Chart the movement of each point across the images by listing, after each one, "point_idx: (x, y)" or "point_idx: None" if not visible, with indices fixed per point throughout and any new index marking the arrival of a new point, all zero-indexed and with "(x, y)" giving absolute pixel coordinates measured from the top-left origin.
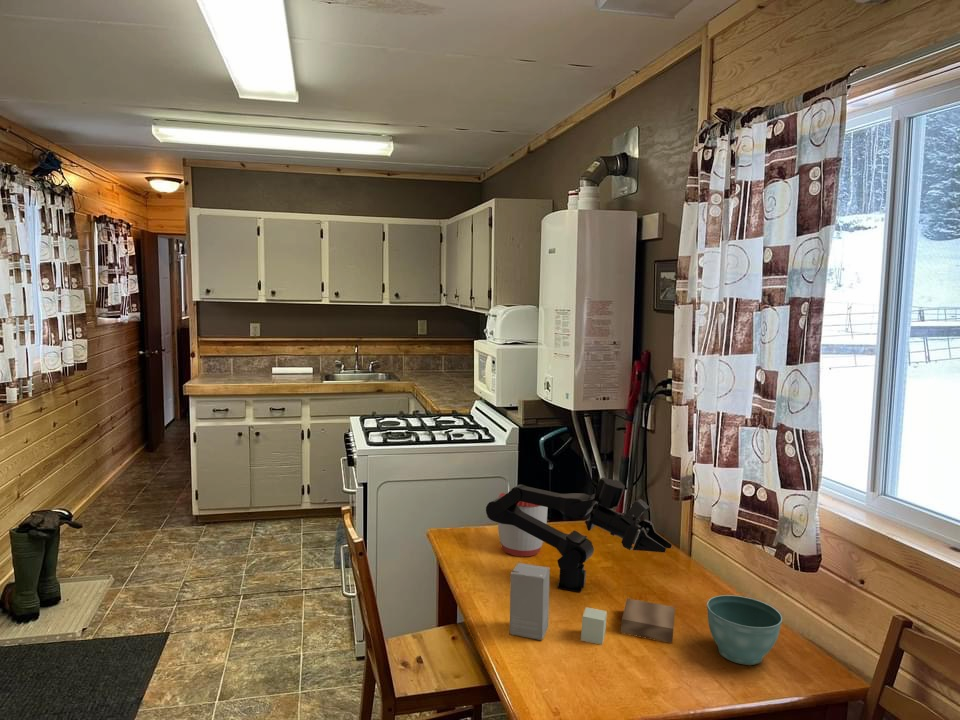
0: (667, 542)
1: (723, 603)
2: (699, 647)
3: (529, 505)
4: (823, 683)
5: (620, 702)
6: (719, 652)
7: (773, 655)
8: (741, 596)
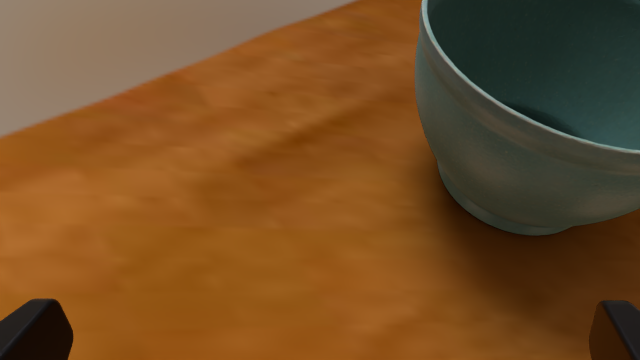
0: (16, 350)
1: (471, 115)
2: (563, 304)
3: None
4: None
5: None
6: (557, 232)
7: None
8: (426, 27)
